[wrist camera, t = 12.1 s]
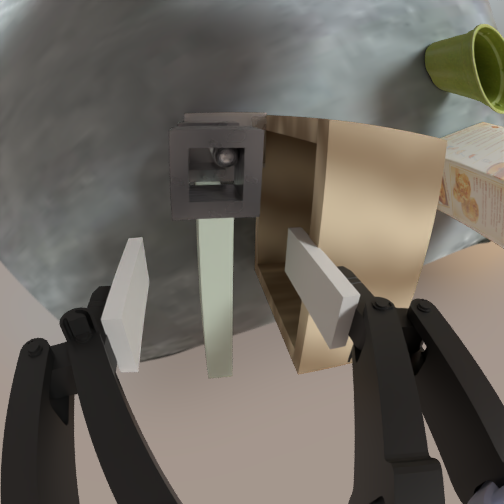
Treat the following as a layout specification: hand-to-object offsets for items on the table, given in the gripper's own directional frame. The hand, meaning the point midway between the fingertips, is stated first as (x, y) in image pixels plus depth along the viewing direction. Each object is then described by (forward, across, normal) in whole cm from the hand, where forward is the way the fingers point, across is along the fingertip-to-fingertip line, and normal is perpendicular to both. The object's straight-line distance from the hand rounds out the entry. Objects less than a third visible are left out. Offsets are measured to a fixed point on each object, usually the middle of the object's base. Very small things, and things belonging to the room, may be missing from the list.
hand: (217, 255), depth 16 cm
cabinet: (+11, +5, 0) cm, 13 cm away
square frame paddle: (+9, 0, -1) cm, 9 cm away
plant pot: (+12, +26, +16) cm, 33 cm away
